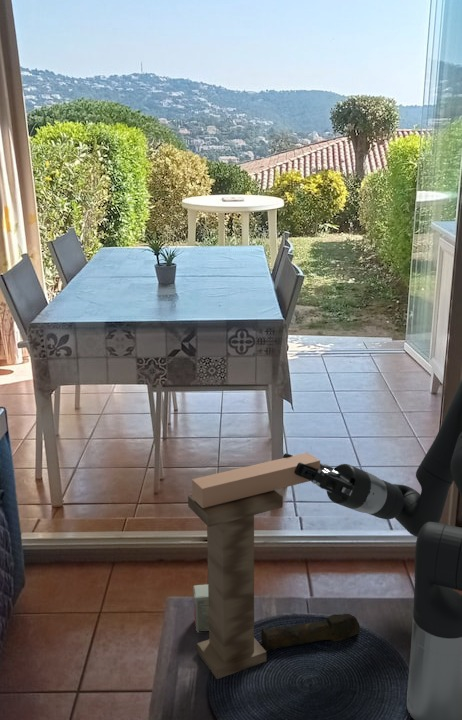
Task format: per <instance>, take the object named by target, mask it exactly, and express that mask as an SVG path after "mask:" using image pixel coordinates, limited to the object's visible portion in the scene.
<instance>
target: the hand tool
mask: <svg viewBox="0 0 462 720" xmlns="http://www.w3.org/2000/svg"><path fill="white" fill-rule="evenodd" d="M260 631H261V632H260V633H261V634H260V635H261V636H260V639H261V644H262V647H263V648H264V649H265V651H266V652H267V653H268V652H269V651H271V650H272V651H276V650H277V649H280V648H286V647H292V646H296V645H304V644H309V643H310V644H311V643H314V642H315V643H316V642H320V641H327V640H329V641H330V642H333V643H335V642H340V641H343V640H346V639H348V638H351V637H353V636H356V635H358V634H359V633H360V623H359V620H358V619H357V618H356V617H355V616H354V615H352V614H350V613H343V614H341V613H339V614H331V615H329V616H328V617H327V619H324V620H320V621H313V622H308V623H301V624H295V625H286V626H281V627H273V628H264V627H261V630H260Z"/></svg>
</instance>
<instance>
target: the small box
mask: <svg viewBox="0 0 462 720" xmlns="http://www.w3.org/2000/svg"><path fill="white" fill-rule="evenodd" d="M193 606H194V607H193V609H194V612H193V613H194V614H193V615H194V626H195V627H196V628H195V632H196V631H209V599H208V583H205V584H197V585H196V584H195V585H193Z"/></svg>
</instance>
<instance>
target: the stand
mask: <svg viewBox="0 0 462 720" xmlns="http://www.w3.org/2000/svg"><path fill="white" fill-rule="evenodd" d="M283 499H284V498H283V495H281V494H280V493H278V492H277V491H276V490H273V491H269V492H265V493H261V494H257V495H253V496H249V497H245V498H241V499H237V500H233V501H229V502H225V503H221V504H217V505H213V506H209V507H205V508H202V507H201V506H200V505H199V504H198V503H197V502H196V501H195V500H194V499H193V498H192V494H191V495H189V494H188V495H187V505H188V508H189V509H190V510H191V512H193V513H194V514H195V515H196V516H197V517H198V518H199V519H200V520H201V521H202V522H203V523H204V525H206V536H207V537H206V539H207V540H206V541H207V584H208V599H209V632H208V636H209V637H208V639H206V640H205V639H204V640H203V641H200V642H197V643H196V647H197V649H196V650H197V652H198V653H199V654H198V653H197V654H198V655H199V657H200V656H201V657H200V658H201V659H202V661H203V662H204V663H205V665H206V667H207V666H208V667H207V668H208V669H209V671H210V670H211V671H210V672H211V674H212V675H213V676H214V677H215V679H216V680H219V679H222V678H225V677H227V676H230V675H233V674H235V673H238V672H240V671H243V670H246V669H249V668H251V667H255V666H257V665H260V664H262V663H265V662H267V653H268V652H266V651H265V649H264V648H263V645H261V644H260V643H259V641H258V640H257V639H256V638H255V515H258V514H263V513H267V512H269V511H270V512H271V511H274V510H277V509H281V508H283V505H284V504H283Z"/></svg>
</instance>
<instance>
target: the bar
mask: <svg viewBox="0 0 462 720" xmlns="http://www.w3.org/2000/svg"><path fill="white" fill-rule="evenodd" d="M300 462H301V463H303V464H306V465H308V466H311V467H313V468H315V469H320V463H321V460H320V459H318V458H317V457H316V456H314V455H313V454H311V453H309V452H304V453H299V454H295V455H293V456H291V457H287V458H283V457H282V458H279V459H273V460H269V461H266V462H261V463H257V464H252V465H247V466H243V467H239V468H234V469H230V470H227V471H222V472H217V473H213V474H209V475H204V476H201V477H200V476H199V477H195V478H192V479H191V493H192V494H191V495H192V498H193V499H194V500H195V501H196V502H197V503H198V504H199V505H200V506H201V507H202V508H205V507H209V506H213V505H217V504H221V503H225V502H229V501H233V500H237V499H241V498H245V497H249V496H253V495H257V494H261V493H265V492H269V491H273V490H275V491H276V490H280V489H284V488H289V487H292V486H296V485H300V484H305V483H307V482H311V480H312V479H311V480H308V479H306V478H303V477H300V476H298V475H296V474H295V473H294V472H295V469H296V467H297V465H298V463H300Z"/></svg>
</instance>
